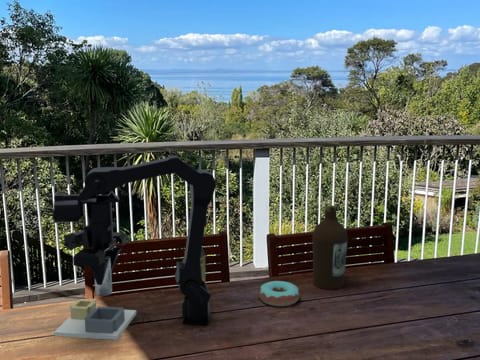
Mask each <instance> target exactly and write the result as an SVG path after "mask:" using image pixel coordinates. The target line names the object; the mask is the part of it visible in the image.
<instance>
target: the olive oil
mask: <svg viewBox="0 0 480 360" xmlns="http://www.w3.org/2000/svg"><path fill="white" fill-rule="evenodd" d="M324 216H325V217H324V218H323V219H322V220H321V221H319V223H318V224H317V225H316V226H315V228H314V230H313V232H312V236H311V237H312V239H311V240H312V282H313V285H314V286H315V287H317V288H319V289H322V290H332V291H333V290H337V289H341V288H343V287H344V282H345V281H344V280H345V273H346V268H347V267H346V259H347V249H348V247H347V246H348V232H347V230H346V228H345V227H344V226H343V224H341V222H340V221H339V220H338V219H337V206H336V205H332V204H331V205H330V204H329V205H326V206H325V210H324Z"/></svg>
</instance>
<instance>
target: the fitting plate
mask: <svg viewBox="0 0 480 360" xmlns="http://www.w3.org/2000/svg"><path fill="white" fill-rule="evenodd" d="M124 308H125V307H119V306H118V307H116V306H115V307H114V306H102V305H101V306H100V305H99V306H97V299H87V298H86V299H85V298H80V299H78V300H75V301H74V302H73V303H72V304H71V305H70V306H69V309H70V316H69V317H68V318H67V319H66V320H65V321H64V322H63V323H62V324H61V325H60V326H59V327H57V329H55V331H53V332H54V333H53V334H54V337H65V338H83V339H98V340H114V341H118V339H120V337H121V336H122V334H123V333H124V331H125V330H126V329H127V327H128V326H129V325H130V323H131V322H132V321H133V319H134V318H135V316H137V310H135V309H124Z"/></svg>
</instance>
